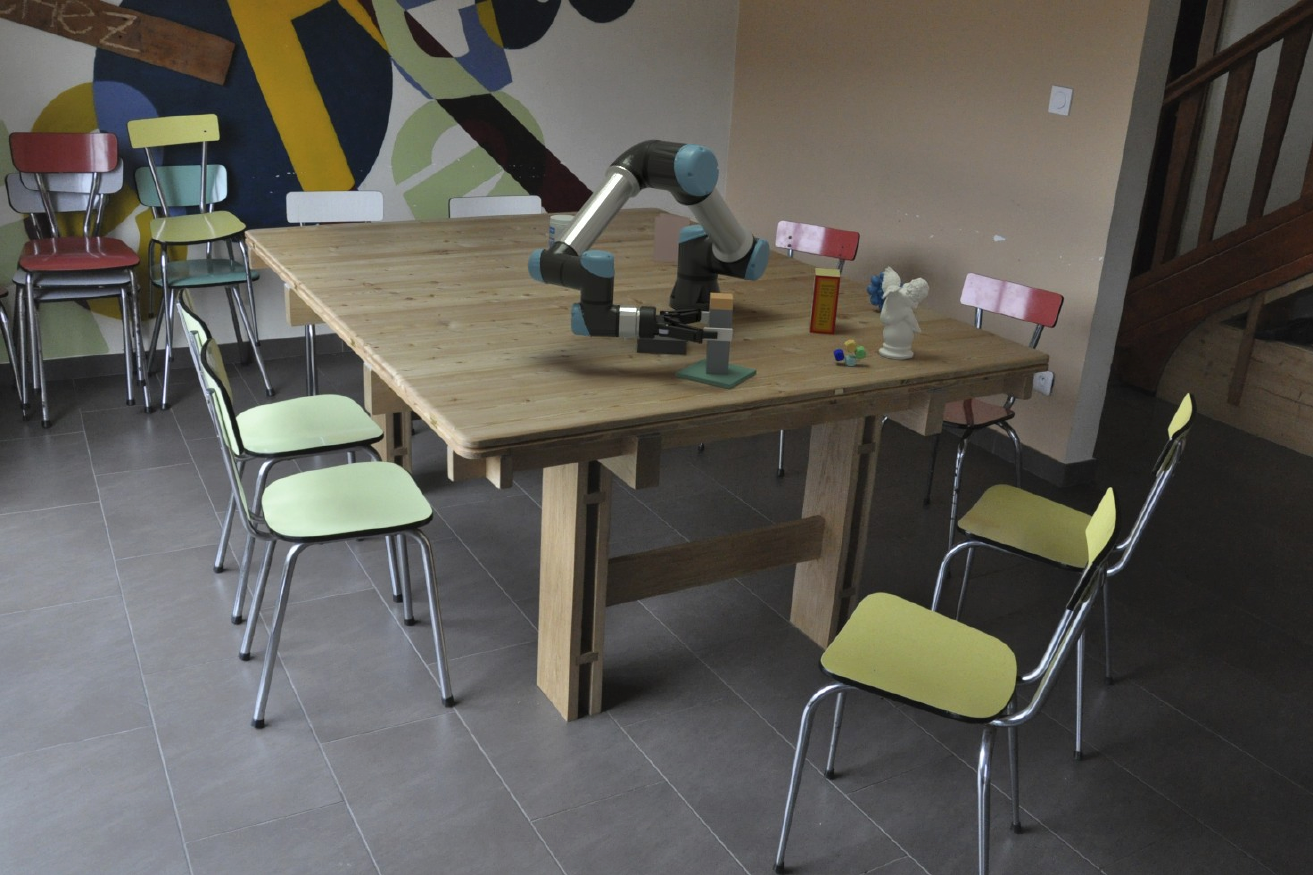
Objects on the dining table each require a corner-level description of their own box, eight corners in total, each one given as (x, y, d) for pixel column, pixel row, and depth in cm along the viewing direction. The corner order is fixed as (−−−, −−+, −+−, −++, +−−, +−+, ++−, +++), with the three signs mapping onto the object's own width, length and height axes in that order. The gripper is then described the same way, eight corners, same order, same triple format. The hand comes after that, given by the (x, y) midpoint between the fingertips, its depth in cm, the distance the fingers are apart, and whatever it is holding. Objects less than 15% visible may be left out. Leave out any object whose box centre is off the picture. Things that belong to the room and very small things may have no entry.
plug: (705, 367, 262) (710, 292, 256) (726, 368, 262) (732, 293, 256) (706, 373, 258) (711, 298, 251) (727, 374, 258) (733, 299, 251)
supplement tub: (543, 263, 359) (543, 217, 354) (557, 257, 368) (558, 213, 362) (569, 267, 356) (570, 221, 350) (583, 261, 364) (584, 216, 358)
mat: (704, 362, 269) (704, 358, 269) (756, 373, 263) (756, 369, 262) (675, 376, 258) (676, 372, 257) (729, 389, 251) (729, 384, 251)
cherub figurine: (923, 357, 282) (937, 272, 274) (898, 367, 274) (911, 279, 265) (882, 345, 290) (894, 262, 281) (856, 354, 281) (868, 269, 273)
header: (638, 337, 286) (638, 324, 285) (684, 339, 286) (685, 326, 285) (636, 352, 274) (637, 338, 273) (685, 354, 274) (686, 341, 273)
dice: (833, 365, 272) (835, 340, 269) (831, 362, 274) (834, 337, 272) (865, 367, 272) (868, 342, 269) (864, 364, 274) (867, 339, 272)
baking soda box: (809, 323, 307) (815, 266, 301) (833, 325, 306) (839, 268, 300) (809, 332, 298) (815, 274, 292) (834, 334, 298) (840, 275, 292)
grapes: (866, 315, 318) (871, 273, 314) (862, 308, 324) (867, 268, 320) (907, 317, 318) (912, 276, 314) (902, 310, 324) (908, 270, 320)
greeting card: (688, 262, 371) (691, 217, 365) (677, 266, 365) (680, 220, 359) (659, 257, 376) (661, 212, 371) (647, 260, 370) (649, 215, 365)
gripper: (638, 323, 269) (726, 327, 269) (636, 353, 245) (732, 358, 246) (640, 292, 266) (728, 297, 266) (637, 321, 243) (735, 325, 243)
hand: (730, 326), depth 256 cm, fingers open, 13 cm apart
